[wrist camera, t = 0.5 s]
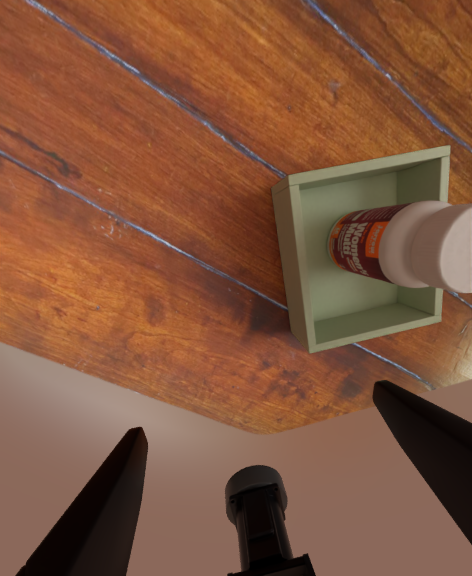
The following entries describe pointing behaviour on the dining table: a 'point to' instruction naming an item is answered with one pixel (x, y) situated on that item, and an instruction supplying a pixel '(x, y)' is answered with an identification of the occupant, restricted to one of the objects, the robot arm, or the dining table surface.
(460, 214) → the pill bottle
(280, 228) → the open box
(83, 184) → the dining table surface
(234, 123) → the dining table surface
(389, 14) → the dining table surface
